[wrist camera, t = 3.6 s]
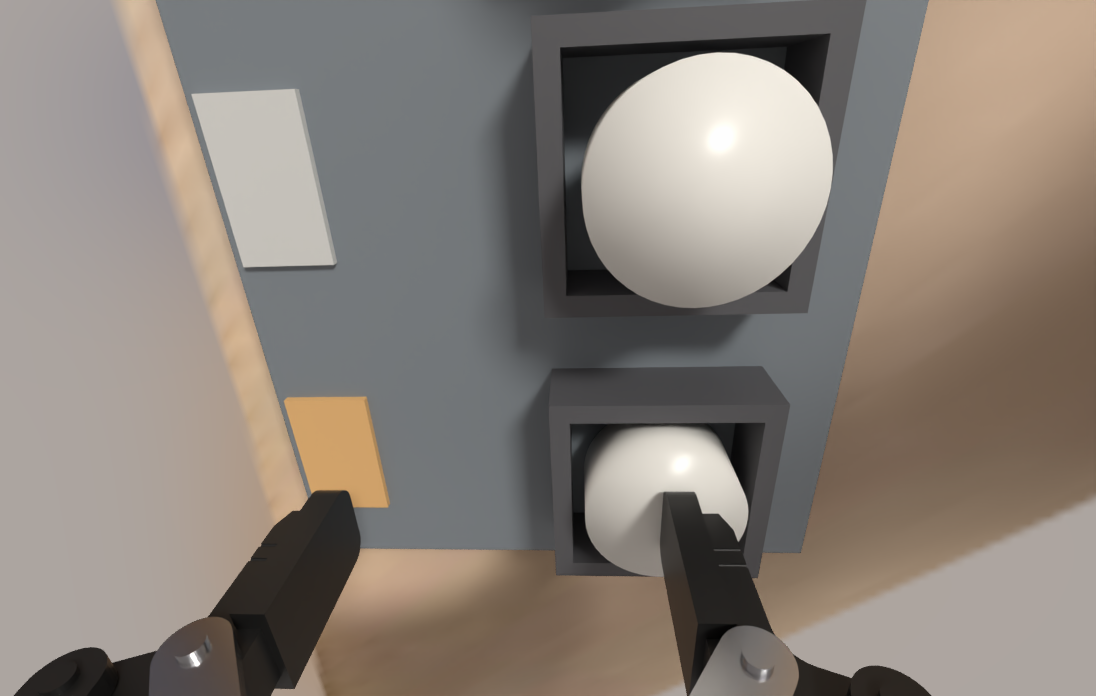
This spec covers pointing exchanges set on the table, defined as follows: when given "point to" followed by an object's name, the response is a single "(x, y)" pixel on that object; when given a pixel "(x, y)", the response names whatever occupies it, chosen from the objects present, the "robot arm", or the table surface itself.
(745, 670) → the robot arm
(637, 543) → the button
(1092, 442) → the table surface
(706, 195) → the button
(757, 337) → the switch panel
